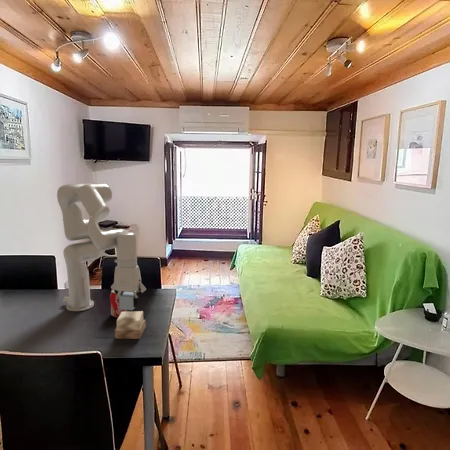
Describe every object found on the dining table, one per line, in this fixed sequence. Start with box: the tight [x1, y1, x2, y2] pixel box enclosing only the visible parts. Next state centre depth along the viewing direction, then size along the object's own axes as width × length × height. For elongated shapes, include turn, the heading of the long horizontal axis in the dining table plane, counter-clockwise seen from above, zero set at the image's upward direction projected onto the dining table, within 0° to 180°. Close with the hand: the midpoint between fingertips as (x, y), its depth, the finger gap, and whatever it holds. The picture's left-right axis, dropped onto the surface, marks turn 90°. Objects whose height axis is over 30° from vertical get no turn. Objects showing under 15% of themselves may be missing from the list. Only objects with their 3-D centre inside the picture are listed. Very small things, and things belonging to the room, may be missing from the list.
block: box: [119, 292, 136, 311], centre depth 145 cm, size 6×6×6 cm
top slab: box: [116, 310, 144, 330], centre depth 147 cm, size 9×9×4 cm
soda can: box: [109, 289, 127, 318], centre depth 164 cm, size 7×7×12 cm
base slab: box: [114, 319, 147, 340], centre depth 148 cm, size 10×10×4 cm
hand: (129, 305), depth 146 cm, fingers closed on block, 5 cm apart
